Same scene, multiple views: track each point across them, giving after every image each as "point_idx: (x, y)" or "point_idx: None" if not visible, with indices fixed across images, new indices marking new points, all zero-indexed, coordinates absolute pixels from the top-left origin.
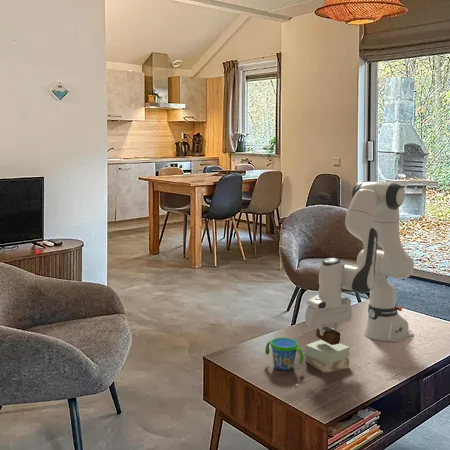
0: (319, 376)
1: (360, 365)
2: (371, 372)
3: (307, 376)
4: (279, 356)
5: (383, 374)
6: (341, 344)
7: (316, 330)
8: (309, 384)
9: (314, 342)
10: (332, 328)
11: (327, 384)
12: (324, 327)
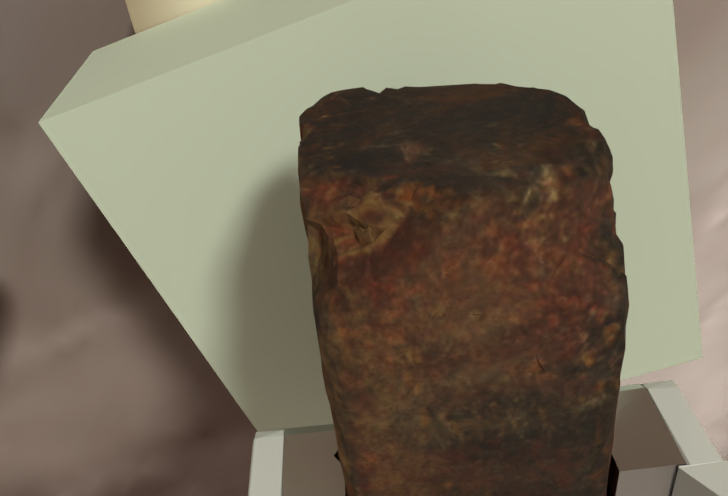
0: (175, 334)
1: (706, 242)
2: (668, 372)
3: (54, 310)
4: None
5: (722, 414)
6: (676, 260)
7: (301, 183)
8: (33, 422)
9: (268, 50)
10: (643, 486)
11: (188, 447)
12: (485, 409)
